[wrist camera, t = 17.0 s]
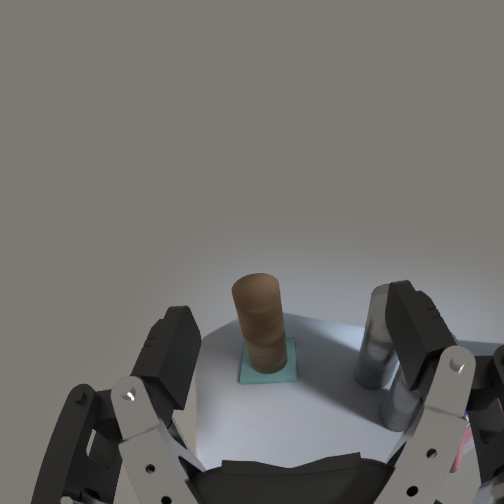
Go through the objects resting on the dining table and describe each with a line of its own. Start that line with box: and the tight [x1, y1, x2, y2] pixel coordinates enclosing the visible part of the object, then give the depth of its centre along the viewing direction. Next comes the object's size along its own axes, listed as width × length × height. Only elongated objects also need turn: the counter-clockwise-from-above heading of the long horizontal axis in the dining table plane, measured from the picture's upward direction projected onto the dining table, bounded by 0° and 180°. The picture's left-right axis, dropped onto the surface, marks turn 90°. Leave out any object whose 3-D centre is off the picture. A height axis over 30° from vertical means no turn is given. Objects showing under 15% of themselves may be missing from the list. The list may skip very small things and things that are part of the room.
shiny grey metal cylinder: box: [380, 332, 459, 432], centre depth 20 cm, size 5×5×12 cm
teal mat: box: [240, 338, 297, 384], centre depth 34 cm, size 7×7×1 cm
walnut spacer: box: [232, 273, 288, 374], centre depth 30 cm, size 5×5×12 cm
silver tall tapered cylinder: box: [355, 284, 399, 389], centre depth 26 cm, size 5×5×12 cm
